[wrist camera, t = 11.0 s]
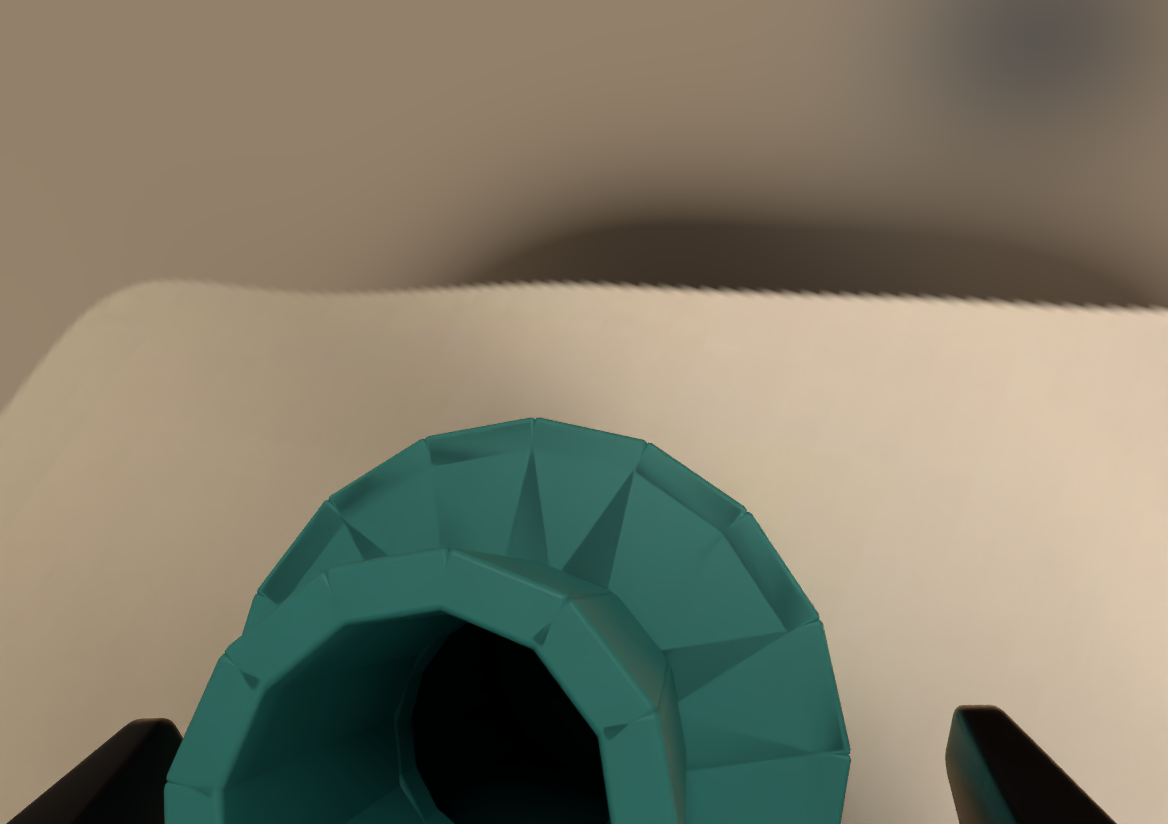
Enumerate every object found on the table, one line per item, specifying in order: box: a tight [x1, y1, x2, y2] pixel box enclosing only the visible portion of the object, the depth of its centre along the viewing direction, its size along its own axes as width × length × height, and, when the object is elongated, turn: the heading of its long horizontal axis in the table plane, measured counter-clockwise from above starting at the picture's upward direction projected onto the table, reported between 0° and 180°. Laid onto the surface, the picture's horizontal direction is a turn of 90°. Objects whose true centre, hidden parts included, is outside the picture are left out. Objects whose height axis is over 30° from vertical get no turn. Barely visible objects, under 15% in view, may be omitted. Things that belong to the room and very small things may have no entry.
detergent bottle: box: [164, 418, 851, 824], centre depth 11 cm, size 6×6×14 cm
